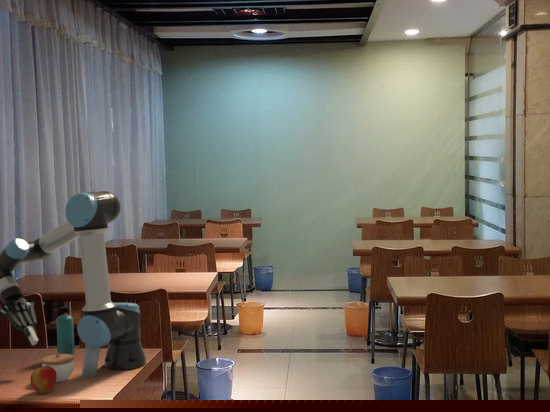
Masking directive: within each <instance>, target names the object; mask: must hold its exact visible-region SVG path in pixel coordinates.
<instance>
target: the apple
mask: <svg viewBox="0 0 550 412" xmlns="http://www.w3.org/2000/svg"><path fill="white" fill-rule="evenodd" d="M39 364H40V365H41V367H39V368H37V369H35V370H34V371H32V372H31V374H30V385H31V387H32V388H33V390H34V391H35V392H37V393H38V394H47V393H50V392H51V391H52V390H53V388H54V387H55V385H56V383H57V382H56V378H57V374H56V371H55V370H54V369H53V368H52V367H51V366H43V367H42V361H41V362H39Z"/></svg>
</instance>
